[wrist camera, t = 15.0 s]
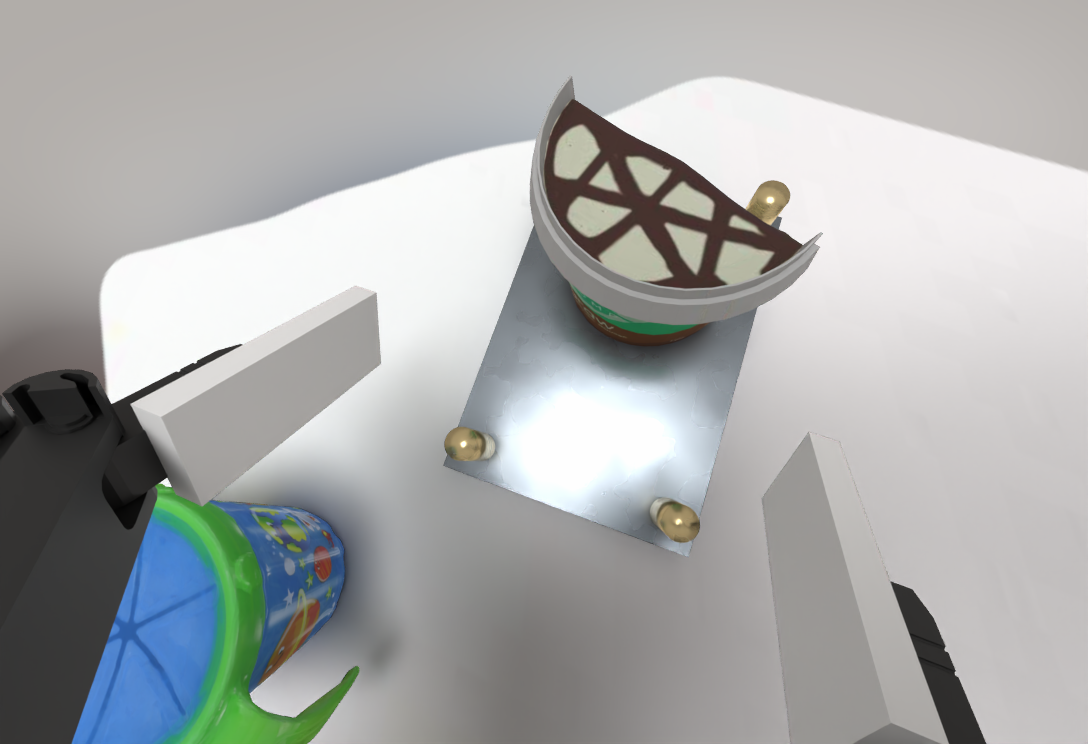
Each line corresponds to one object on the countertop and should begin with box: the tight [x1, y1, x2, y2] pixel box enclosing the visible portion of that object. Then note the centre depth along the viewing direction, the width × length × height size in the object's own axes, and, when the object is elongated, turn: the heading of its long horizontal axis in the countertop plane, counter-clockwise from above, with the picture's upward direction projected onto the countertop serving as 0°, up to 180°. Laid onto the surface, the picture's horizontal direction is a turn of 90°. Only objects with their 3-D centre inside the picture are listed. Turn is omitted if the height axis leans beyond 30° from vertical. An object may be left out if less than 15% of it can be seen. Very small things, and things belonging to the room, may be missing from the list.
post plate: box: [443, 181, 790, 557], centre depth 24 cm, size 14×20×6 cm
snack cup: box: [72, 484, 359, 744], centre depth 21 cm, size 16×10×10 cm
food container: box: [530, 76, 823, 347], centre depth 21 cm, size 12×6×10 cm, turn 49°
